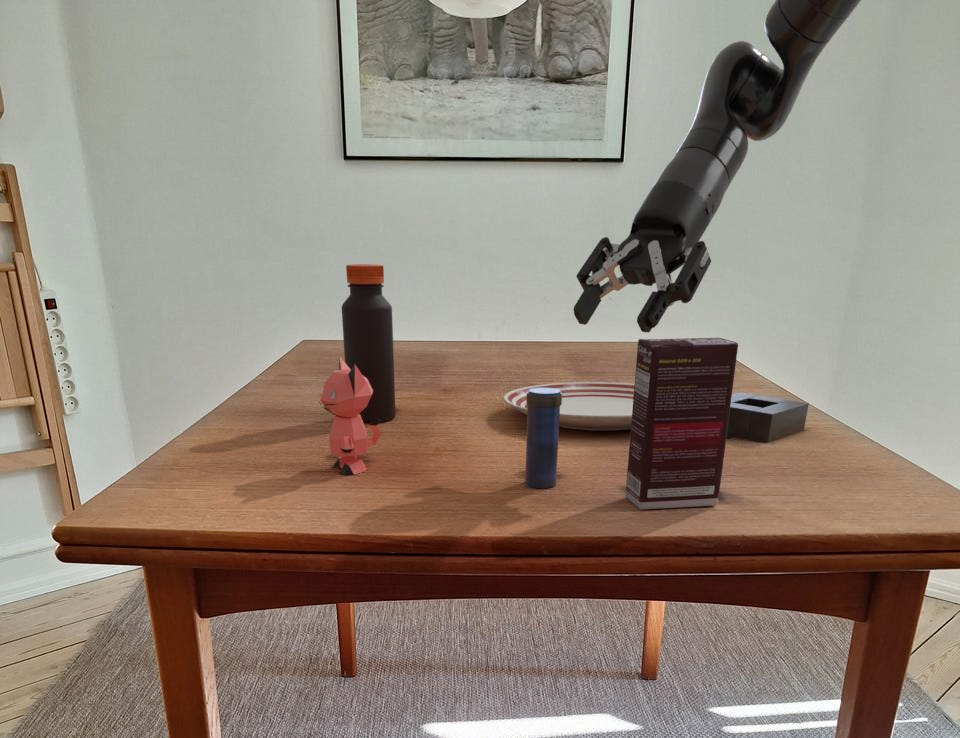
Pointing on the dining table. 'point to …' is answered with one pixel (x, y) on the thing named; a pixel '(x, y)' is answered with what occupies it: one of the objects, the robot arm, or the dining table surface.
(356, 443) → the cat figurine
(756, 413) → the holder
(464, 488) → the dining table surface
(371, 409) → the bottle
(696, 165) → the robot arm
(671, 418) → the supplement box
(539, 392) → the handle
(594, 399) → the dinner plate
